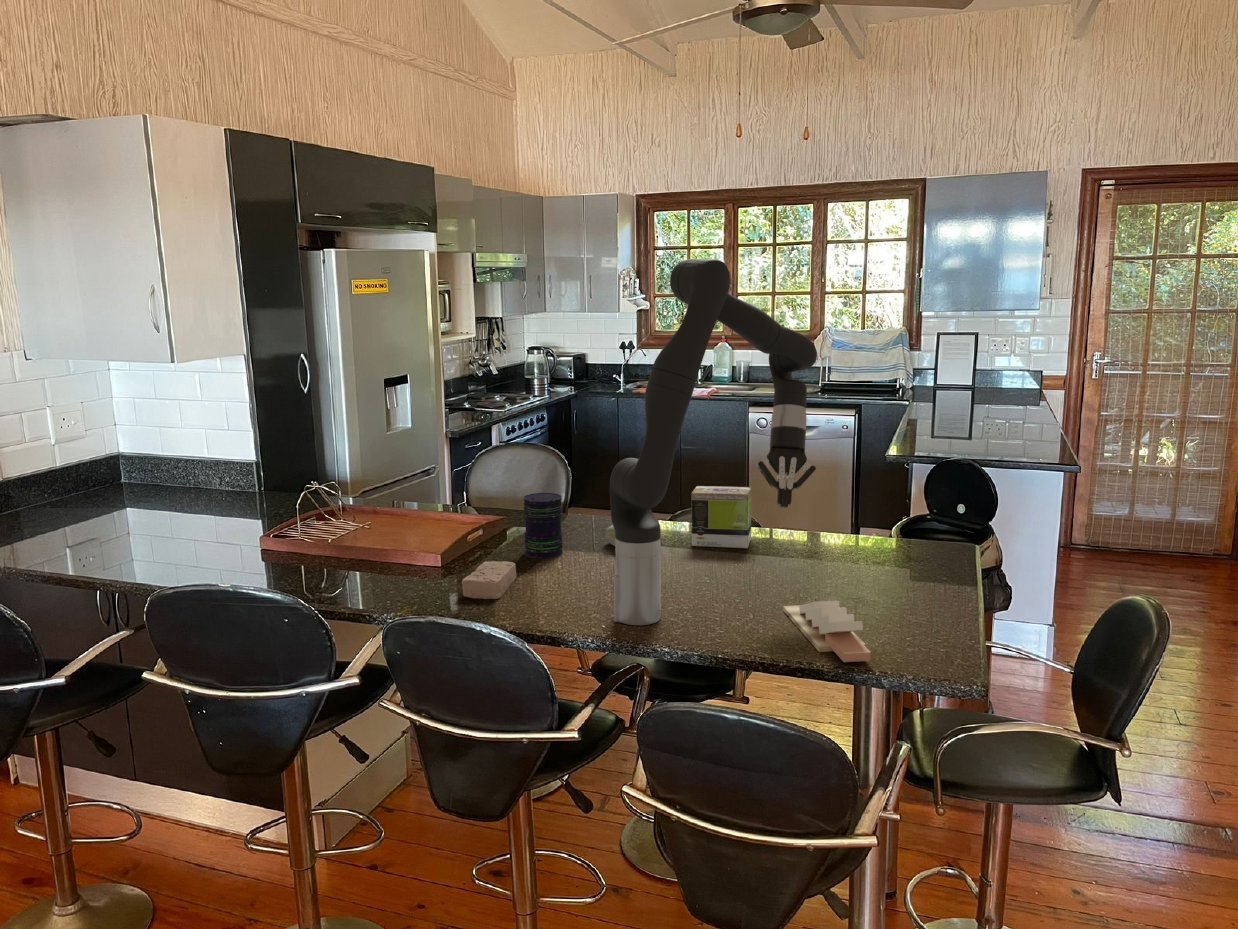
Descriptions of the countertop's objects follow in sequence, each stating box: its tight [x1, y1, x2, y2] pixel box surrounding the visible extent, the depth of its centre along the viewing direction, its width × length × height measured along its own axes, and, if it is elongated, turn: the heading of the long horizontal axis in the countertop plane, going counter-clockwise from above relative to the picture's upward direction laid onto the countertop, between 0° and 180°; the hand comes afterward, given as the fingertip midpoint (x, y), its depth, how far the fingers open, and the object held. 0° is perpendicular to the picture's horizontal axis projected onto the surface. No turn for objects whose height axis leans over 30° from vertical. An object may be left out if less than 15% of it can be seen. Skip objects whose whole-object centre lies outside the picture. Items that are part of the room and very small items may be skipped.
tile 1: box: [799, 600, 840, 614], centre depth 187 cm, size 2×5×10 cm
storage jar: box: [523, 492, 564, 560], centre depth 240 cm, size 10×10×15 cm
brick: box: [461, 560, 517, 600], centre depth 213 cm, size 16×8×5 cm, turn 171°
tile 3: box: [812, 613, 855, 627], centre depth 180 cm, size 2×5×10 cm
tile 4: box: [819, 620, 864, 634], centre depth 176 cm, size 2×5×10 cm
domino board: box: [782, 604, 867, 653], centre depth 186 cm, size 23×9×1 cm, turn 7°
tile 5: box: [825, 632, 872, 663], centre depth 172 cm, size 2×5×10 cm
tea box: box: [690, 485, 752, 549], centre depth 248 cm, size 15×10×15 cm, turn 77°
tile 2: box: [805, 606, 848, 621], centre depth 184 cm, size 2×5×10 cm
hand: (783, 507), depth 200 cm, fingers closed
